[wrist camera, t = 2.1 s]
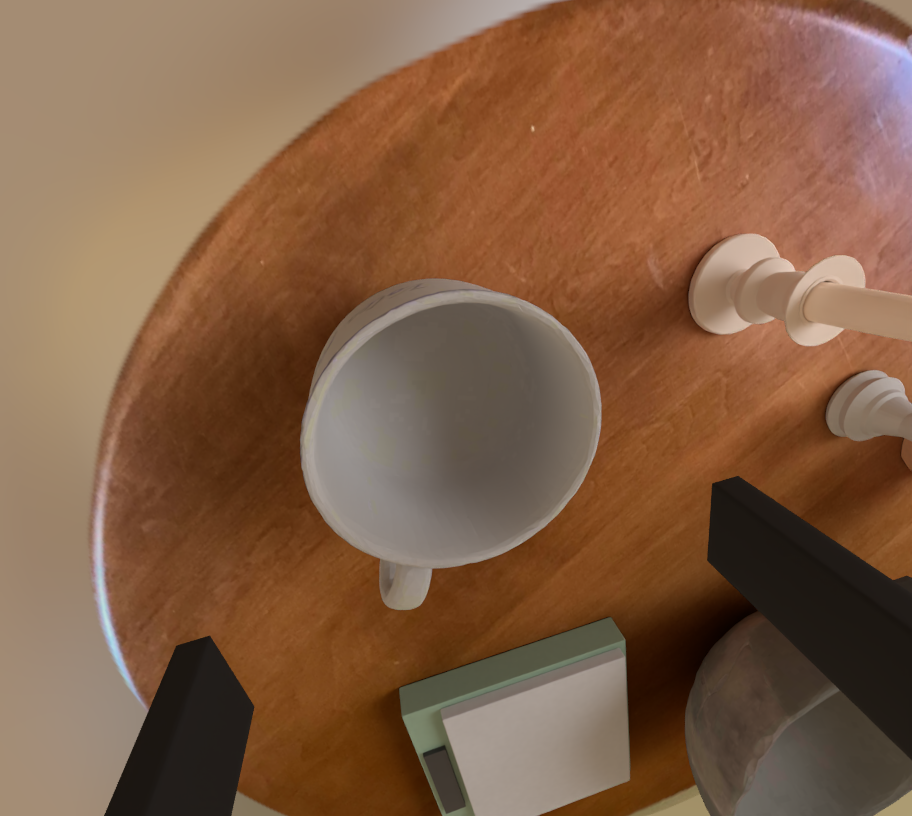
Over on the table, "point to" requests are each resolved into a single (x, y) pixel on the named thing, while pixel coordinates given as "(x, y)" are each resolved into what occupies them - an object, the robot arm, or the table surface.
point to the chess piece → (870, 408)
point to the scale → (525, 725)
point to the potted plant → (907, 453)
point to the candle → (791, 294)
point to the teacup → (446, 428)
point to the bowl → (783, 734)
